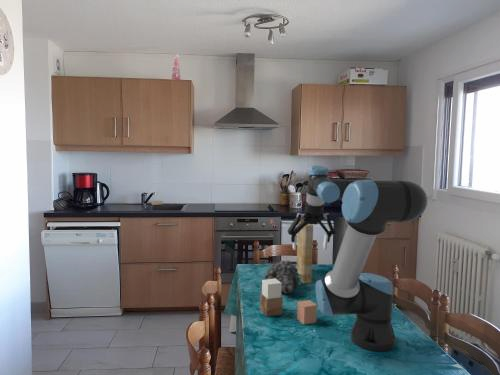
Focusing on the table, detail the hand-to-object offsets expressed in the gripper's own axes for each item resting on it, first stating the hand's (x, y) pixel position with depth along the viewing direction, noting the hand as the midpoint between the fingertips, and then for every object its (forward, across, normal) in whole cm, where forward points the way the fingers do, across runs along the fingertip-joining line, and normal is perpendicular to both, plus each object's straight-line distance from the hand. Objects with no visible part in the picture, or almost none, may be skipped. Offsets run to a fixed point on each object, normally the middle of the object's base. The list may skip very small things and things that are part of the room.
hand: (309, 248), depth 163 cm
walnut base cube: (+22, +17, +13) cm, 31 cm away
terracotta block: (+20, +5, +22) cm, 30 cm away
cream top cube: (+16, +17, +11) cm, 26 cm away
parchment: (+34, -9, -30) cm, 46 cm away
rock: (+29, +7, -11) cm, 32 cm away
